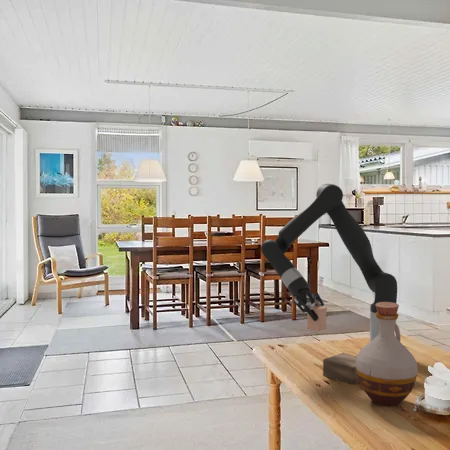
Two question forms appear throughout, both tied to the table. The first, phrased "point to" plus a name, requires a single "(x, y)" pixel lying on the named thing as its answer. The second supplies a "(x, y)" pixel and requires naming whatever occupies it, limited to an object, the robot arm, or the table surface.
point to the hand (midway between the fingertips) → (321, 318)
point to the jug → (386, 361)
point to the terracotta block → (321, 321)
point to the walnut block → (341, 368)
